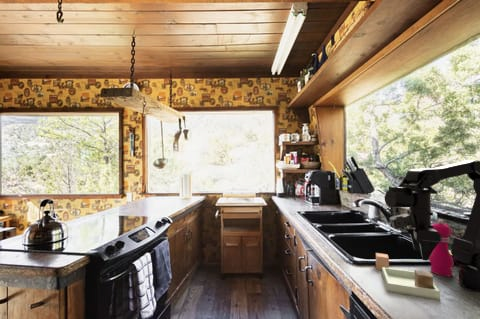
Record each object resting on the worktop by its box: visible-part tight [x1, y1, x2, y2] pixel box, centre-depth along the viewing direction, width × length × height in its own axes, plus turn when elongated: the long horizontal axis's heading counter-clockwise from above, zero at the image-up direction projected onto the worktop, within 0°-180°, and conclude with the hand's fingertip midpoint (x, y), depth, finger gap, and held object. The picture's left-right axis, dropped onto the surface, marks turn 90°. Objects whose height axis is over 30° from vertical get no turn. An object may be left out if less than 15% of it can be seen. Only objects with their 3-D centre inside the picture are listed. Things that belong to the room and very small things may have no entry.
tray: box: [381, 267, 441, 301], centre depth 84 cm, size 14×14×3 cm
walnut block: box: [414, 269, 434, 289], centre depth 81 cm, size 4×4×5 cm
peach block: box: [375, 252, 390, 271], centre depth 98 cm, size 4×4×5 cm
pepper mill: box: [428, 218, 455, 277], centre depth 95 cm, size 7×7×20 cm
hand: (420, 255), depth 82 cm, fingers open, 9 cm apart
